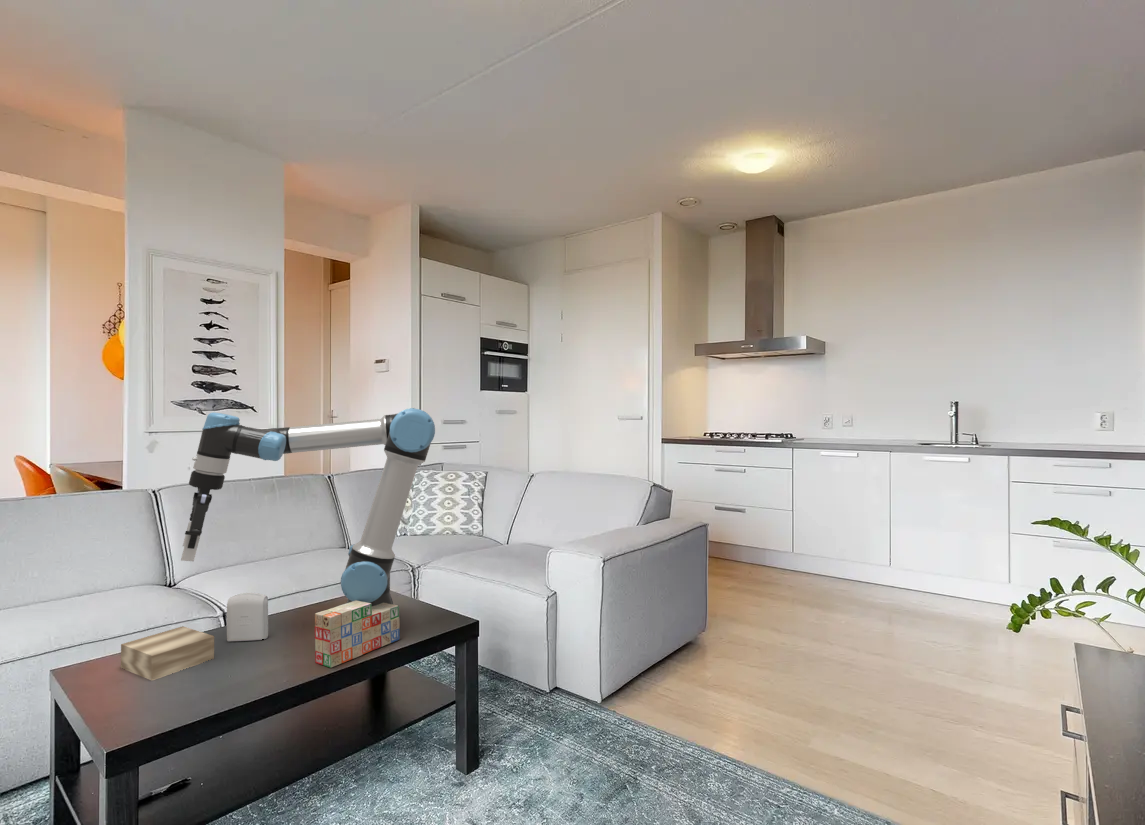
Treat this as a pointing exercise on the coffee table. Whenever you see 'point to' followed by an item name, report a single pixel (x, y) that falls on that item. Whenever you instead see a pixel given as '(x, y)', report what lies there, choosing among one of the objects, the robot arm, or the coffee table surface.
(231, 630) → the photo printer
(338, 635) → the stack of blocks
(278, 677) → the coffee table surface
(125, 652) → the birch box
